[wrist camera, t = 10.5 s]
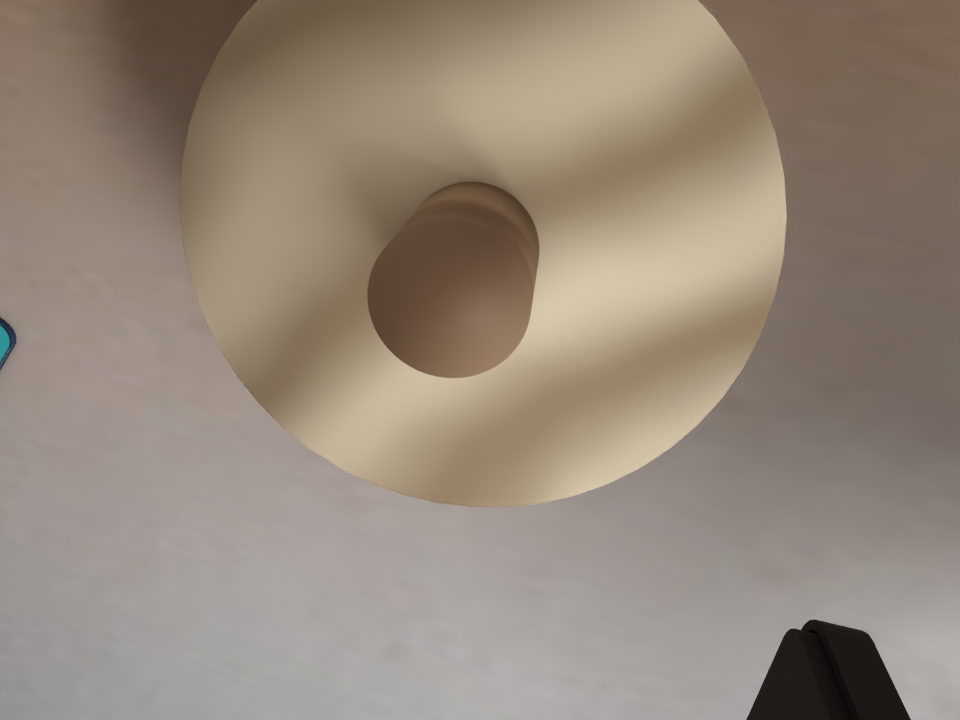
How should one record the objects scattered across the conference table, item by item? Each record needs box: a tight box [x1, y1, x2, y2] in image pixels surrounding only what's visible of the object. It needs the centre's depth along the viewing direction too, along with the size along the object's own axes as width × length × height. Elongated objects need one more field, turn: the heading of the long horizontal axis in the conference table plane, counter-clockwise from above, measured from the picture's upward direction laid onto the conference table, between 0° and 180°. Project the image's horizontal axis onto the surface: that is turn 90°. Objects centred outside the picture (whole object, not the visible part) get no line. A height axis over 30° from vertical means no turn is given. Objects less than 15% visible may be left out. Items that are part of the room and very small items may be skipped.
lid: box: [180, 0, 787, 507], centre depth 22 cm, size 18×18×6 cm
